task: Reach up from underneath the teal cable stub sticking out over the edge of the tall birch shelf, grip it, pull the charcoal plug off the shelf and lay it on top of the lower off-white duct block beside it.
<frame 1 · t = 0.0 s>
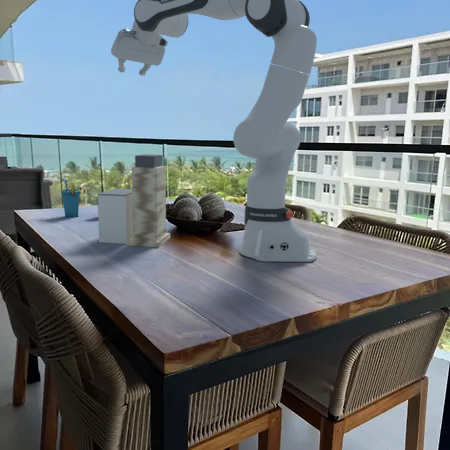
hand: (131, 73, 156), 54 cm above the table, tool tilted 30°, fingers open, 8 cm apart
duct block: (120, 238, 149), on the table
cup: (70, 216, 186), on the table
cable plug: (149, 166, 141), point 24 cm above the table, touching tall shelf
tall shelf: (149, 241, 146), on the table
speaker: (107, 217, 186), on the table
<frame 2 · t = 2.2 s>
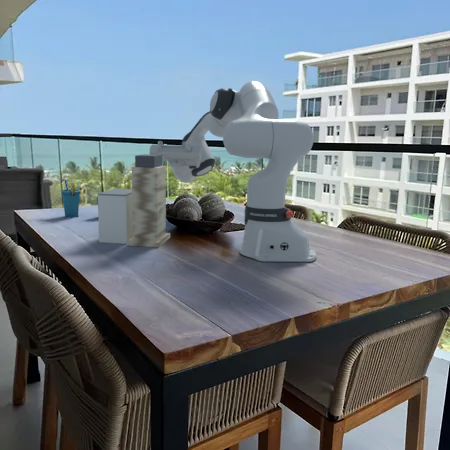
hand: (172, 143, 169), 31 cm above the table, tool pointing upward, fingers open, 8 cm apart
nothing on the table moved.
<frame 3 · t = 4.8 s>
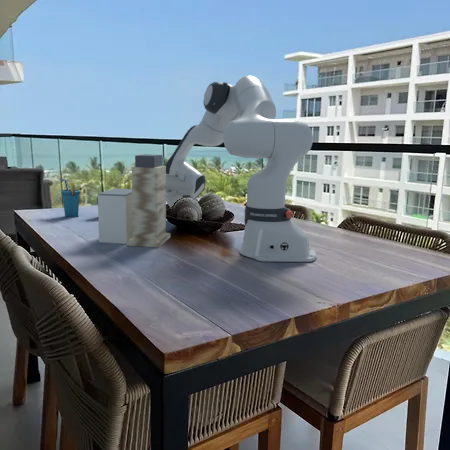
hand: (164, 172, 159), 21 cm above the table, tool pointing upward, fingers open, 8 cm apart
nothing on the table moved.
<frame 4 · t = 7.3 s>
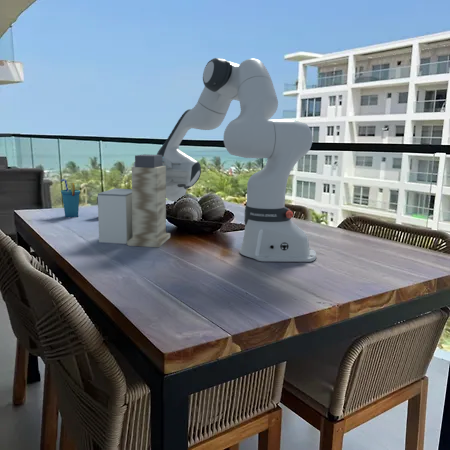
hand: (157, 159, 151), 26 cm above the table, tool pointing upward, fingers closed on cable plug, 2 cm apart
cable plug: (149, 166, 141), point 24 cm above the table, touching gripper, tall shelf
everything else where it was.
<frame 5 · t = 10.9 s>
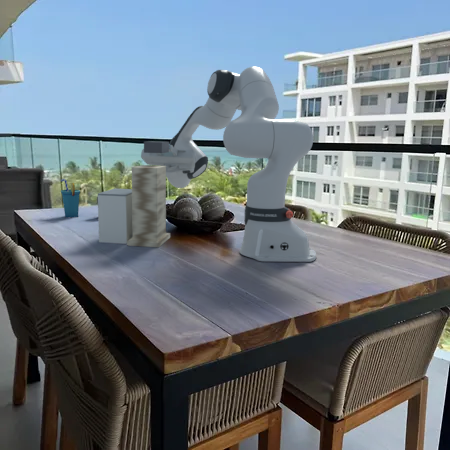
hand: (164, 146, 161), 30 cm above the table, tool pointing upward, fingers closed on cable plug, 2 cm apart
cable plug: (156, 152, 152), point 28 cm above the table, touching gripper
everything else where it was.
when the fingers open (19 cm above the table, at t = 14.9 s): cable plug drops 2 cm, resting on duct block.
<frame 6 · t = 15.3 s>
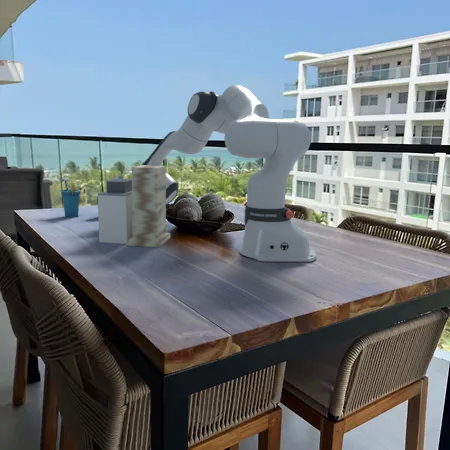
hand: (130, 177, 156), 19 cm above the table, tool pointing upward, fingers open, 7 cm apart
cable plug: (120, 191, 147), point 15 cm above the table, touching duct block
everything else where it was.
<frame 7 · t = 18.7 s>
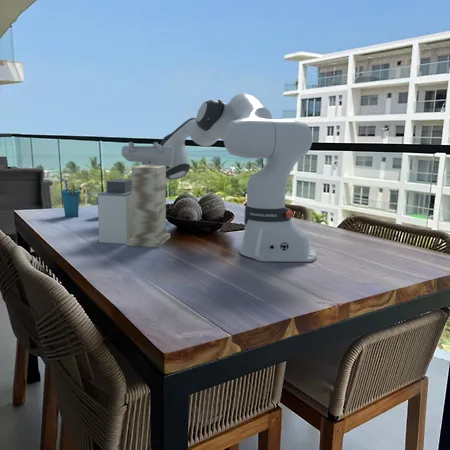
hand: (142, 143, 169), 30 cm above the table, tool pointing upward, fingers open, 8 cm apart
nothing on the table moved.
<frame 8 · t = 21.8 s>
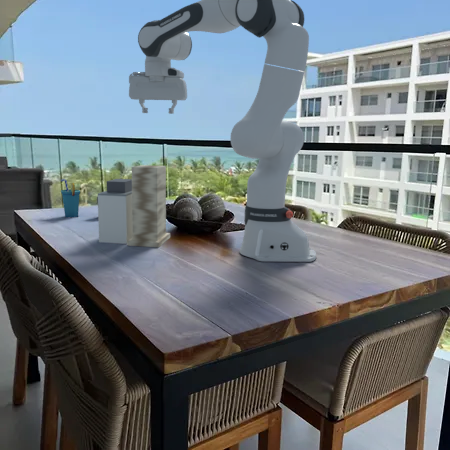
hand: (158, 113, 159), 41 cm above the table, tool pointing down, fingers open, 8 cm apart
nothing on the table moved.
at the end: cable plug inside the target area on the duct block (0.6 cm from its centre), point 15.5 cm above the duct block's base; the gripper is holding nothing; cable plug tilted 0° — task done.
